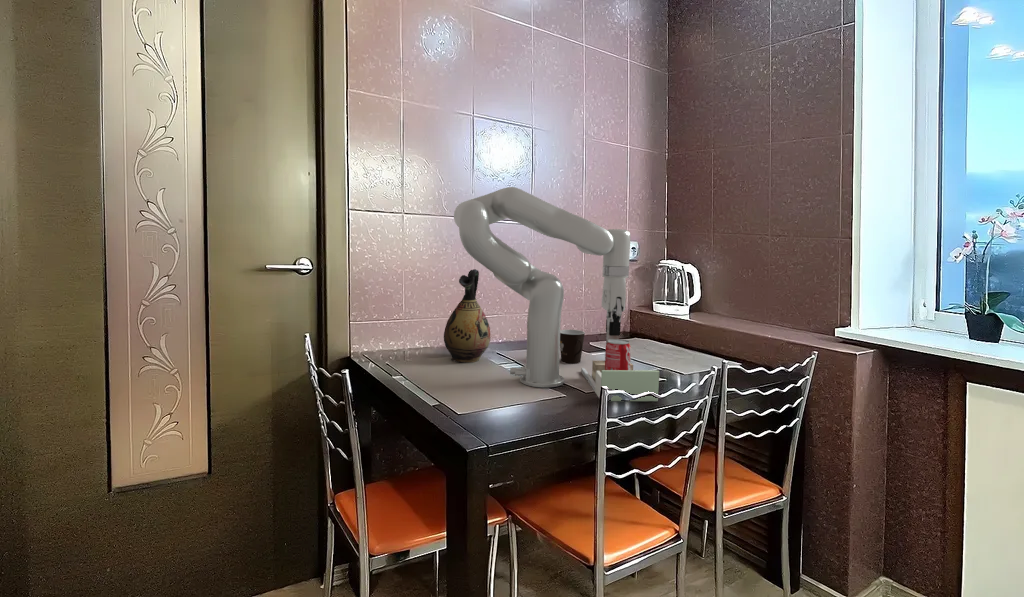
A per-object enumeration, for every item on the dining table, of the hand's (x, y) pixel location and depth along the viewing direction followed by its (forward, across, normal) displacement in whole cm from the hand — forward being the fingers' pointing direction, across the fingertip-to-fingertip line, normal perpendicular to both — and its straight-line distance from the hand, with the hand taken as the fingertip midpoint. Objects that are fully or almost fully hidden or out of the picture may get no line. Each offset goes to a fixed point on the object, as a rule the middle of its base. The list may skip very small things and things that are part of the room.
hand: (612, 333), depth 168 cm
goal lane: (+14, +7, 0) cm, 15 cm away
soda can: (+14, +8, 0) cm, 16 cm away
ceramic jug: (+14, -24, -43) cm, 51 cm away
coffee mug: (+14, -19, -9) cm, 25 cm away
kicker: (+14, +2, 0) cm, 14 cm away
